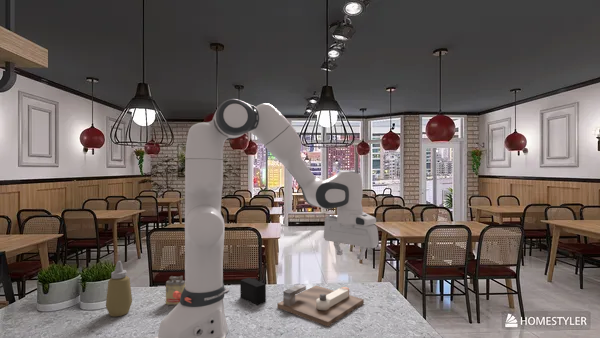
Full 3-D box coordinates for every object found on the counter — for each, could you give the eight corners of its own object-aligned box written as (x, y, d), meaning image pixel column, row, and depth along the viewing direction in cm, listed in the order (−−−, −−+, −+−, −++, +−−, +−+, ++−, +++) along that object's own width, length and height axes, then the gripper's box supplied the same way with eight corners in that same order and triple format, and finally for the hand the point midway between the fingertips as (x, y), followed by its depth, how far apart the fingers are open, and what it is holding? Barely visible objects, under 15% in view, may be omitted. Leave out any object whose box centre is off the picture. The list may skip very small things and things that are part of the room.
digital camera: (268, 301, 125) (268, 282, 125) (257, 305, 121) (257, 286, 121) (251, 293, 132) (251, 276, 132) (240, 297, 128) (240, 279, 128)
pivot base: (328, 326, 105) (328, 307, 105) (277, 307, 119) (277, 290, 119) (363, 303, 123) (363, 286, 122) (316, 289, 137) (315, 274, 137)
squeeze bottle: (123, 306, 120) (123, 257, 120) (137, 311, 116) (137, 260, 116) (100, 315, 113) (100, 262, 113) (114, 320, 109) (113, 266, 109)
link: (324, 311, 111) (324, 304, 111) (313, 308, 114) (313, 300, 114) (352, 295, 125) (352, 288, 125) (341, 292, 128) (341, 286, 128)
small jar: (164, 305, 121) (163, 277, 121) (168, 300, 125) (168, 274, 125) (183, 305, 121) (183, 278, 121) (187, 301, 125) (186, 274, 125)
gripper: (320, 215, 119) (320, 253, 119) (371, 221, 106) (371, 264, 106) (330, 213, 124) (330, 250, 124) (380, 218, 111) (380, 260, 111)
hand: (349, 256), depth 115 cm, fingers open, 7 cm apart
